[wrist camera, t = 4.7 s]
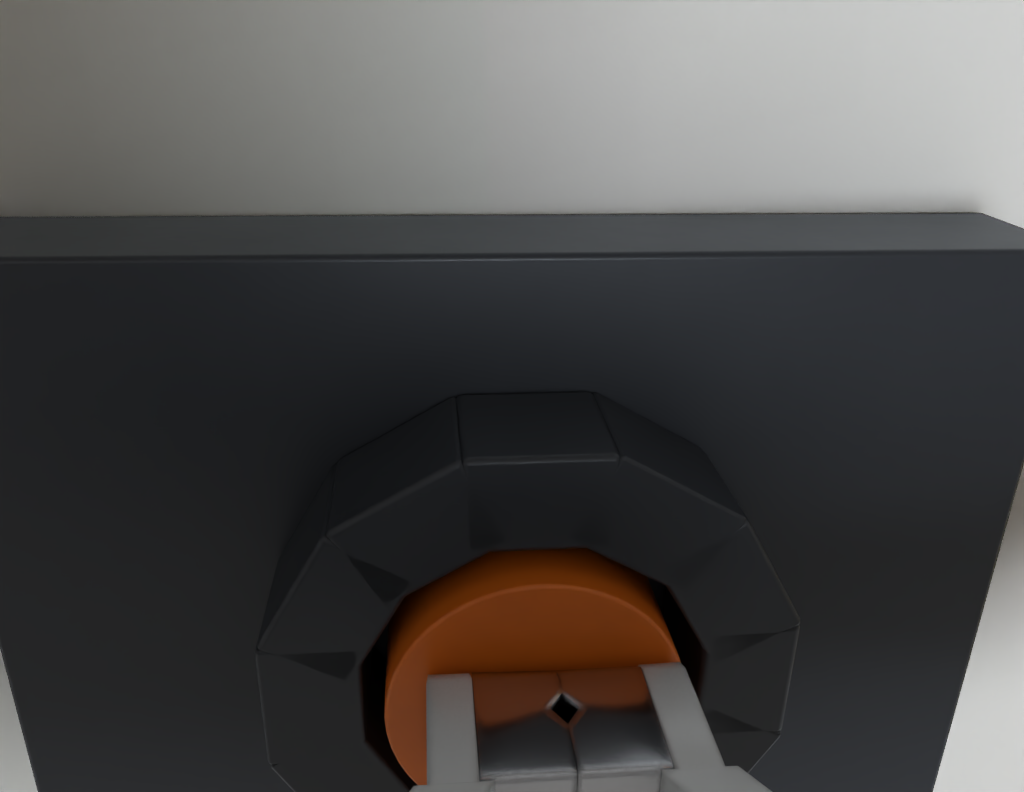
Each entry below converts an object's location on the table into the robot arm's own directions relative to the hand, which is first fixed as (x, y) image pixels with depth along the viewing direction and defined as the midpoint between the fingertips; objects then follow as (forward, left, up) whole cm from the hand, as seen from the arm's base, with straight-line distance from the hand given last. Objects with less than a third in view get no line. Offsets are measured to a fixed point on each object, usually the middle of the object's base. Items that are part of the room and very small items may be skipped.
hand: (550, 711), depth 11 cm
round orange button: (0, 0, -2) cm, 2 cm away
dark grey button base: (0, 0, -4) cm, 4 cm away
